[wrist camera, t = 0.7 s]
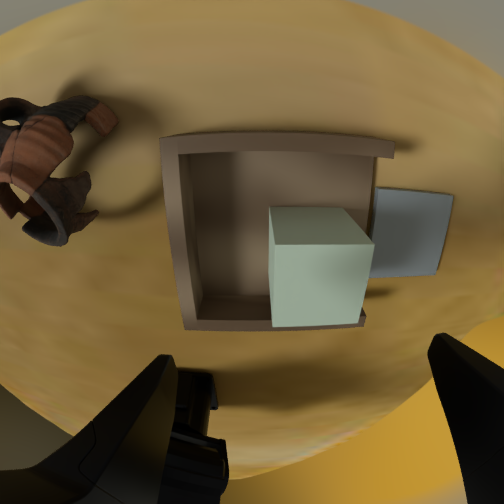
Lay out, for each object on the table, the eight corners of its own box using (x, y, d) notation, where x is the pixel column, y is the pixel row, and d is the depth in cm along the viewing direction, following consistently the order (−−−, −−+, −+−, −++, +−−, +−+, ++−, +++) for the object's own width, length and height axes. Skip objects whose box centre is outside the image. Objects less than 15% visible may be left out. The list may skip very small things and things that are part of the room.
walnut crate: (351, 300, 23) (363, 326, 19) (193, 302, 23) (184, 329, 20) (372, 136, 17) (394, 141, 14) (175, 134, 17) (159, 138, 14)
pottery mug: (157, 136, 18) (94, 228, 13) (106, 193, 23) (62, 267, 19) (44, 43, 11) (-46, 108, 6) (19, 121, 17) (-39, 185, 12)
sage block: (334, 271, 21) (357, 323, 15) (268, 272, 21) (272, 327, 16) (342, 207, 19) (374, 244, 13) (269, 206, 19) (275, 244, 13)
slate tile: (431, 271, 21) (435, 274, 21) (362, 274, 21) (364, 277, 21) (449, 193, 18) (453, 196, 18) (375, 186, 18) (378, 188, 18)
